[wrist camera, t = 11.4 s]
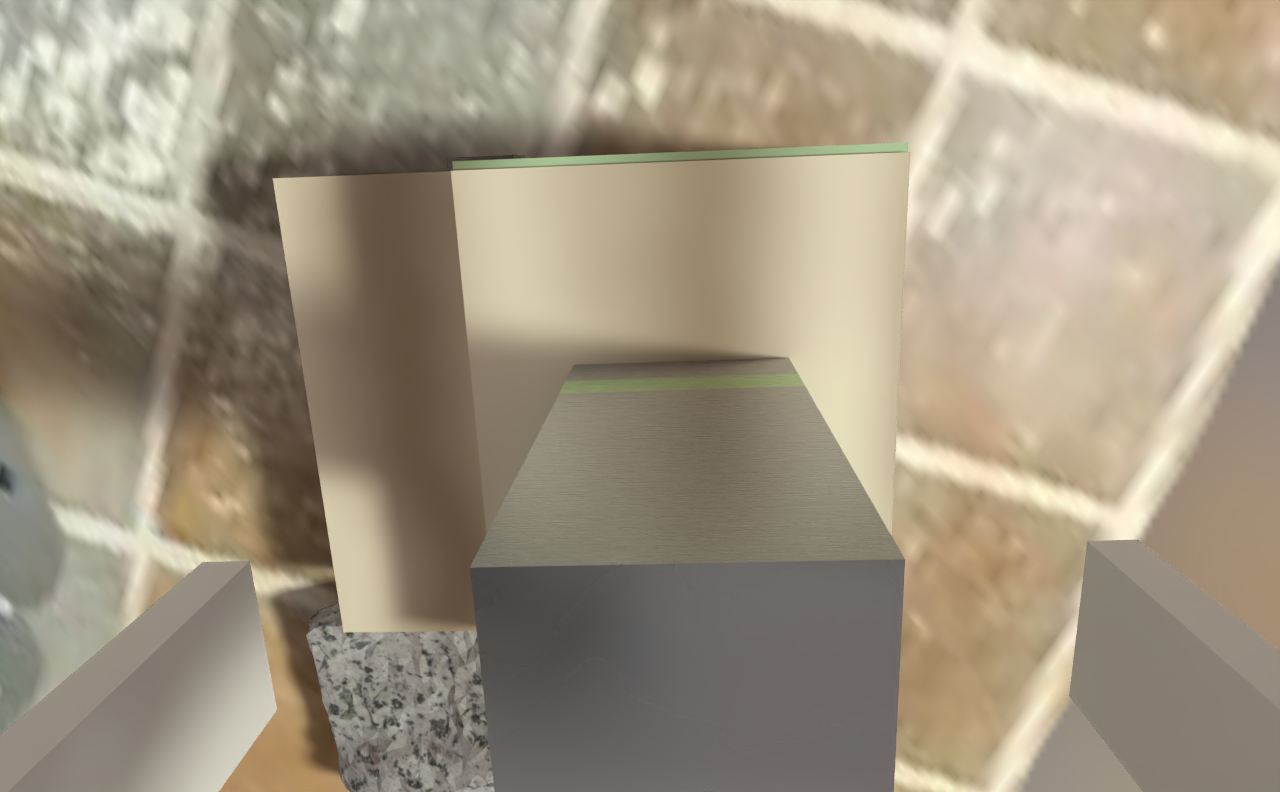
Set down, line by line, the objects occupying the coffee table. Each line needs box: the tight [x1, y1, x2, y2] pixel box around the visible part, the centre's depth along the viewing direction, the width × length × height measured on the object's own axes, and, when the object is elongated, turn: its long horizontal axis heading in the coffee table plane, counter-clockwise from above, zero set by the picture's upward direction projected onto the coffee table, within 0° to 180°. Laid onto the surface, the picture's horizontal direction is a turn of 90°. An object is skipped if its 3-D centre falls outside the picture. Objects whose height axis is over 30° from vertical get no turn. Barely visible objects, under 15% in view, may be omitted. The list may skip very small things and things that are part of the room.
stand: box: [273, 143, 910, 632], centre depth 24 cm, size 16×14×8 cm
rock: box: [306, 600, 495, 792], centre depth 29 cm, size 13×10×5 cm
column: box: [470, 358, 905, 792], centre depth 15 cm, size 5×5×10 cm
